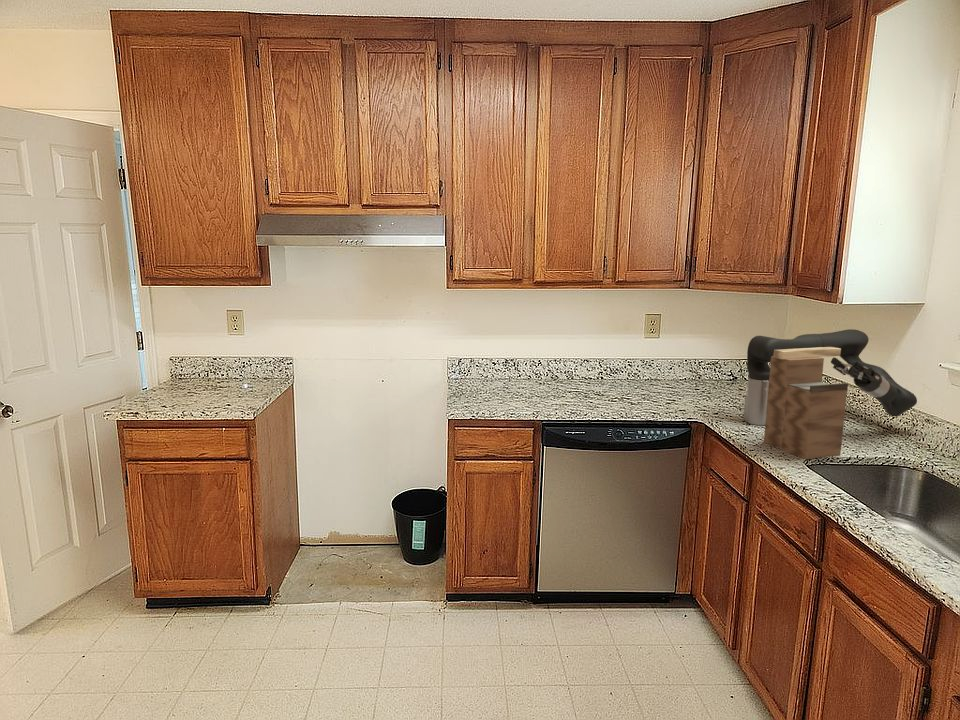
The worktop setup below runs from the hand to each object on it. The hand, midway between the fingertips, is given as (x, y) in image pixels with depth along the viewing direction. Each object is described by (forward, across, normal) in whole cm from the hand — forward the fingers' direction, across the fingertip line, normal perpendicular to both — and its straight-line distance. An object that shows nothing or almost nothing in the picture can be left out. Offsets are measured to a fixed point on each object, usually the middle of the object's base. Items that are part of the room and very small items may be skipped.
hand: (843, 361), depth 211 cm
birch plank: (+15, 0, +6) cm, 16 cm away
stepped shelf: (+3, +5, +34) cm, 34 cm away
